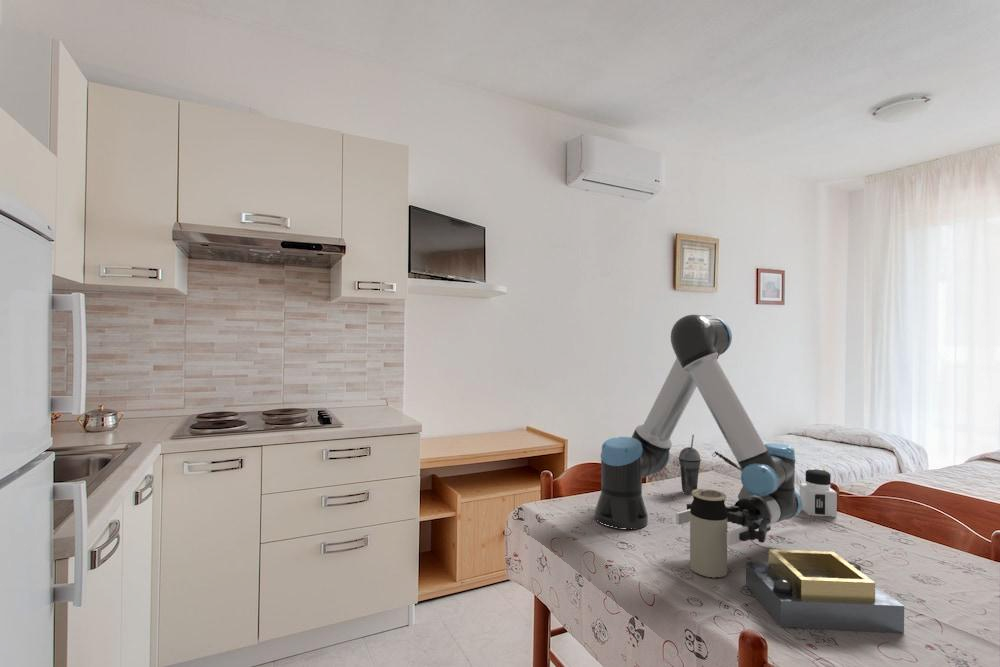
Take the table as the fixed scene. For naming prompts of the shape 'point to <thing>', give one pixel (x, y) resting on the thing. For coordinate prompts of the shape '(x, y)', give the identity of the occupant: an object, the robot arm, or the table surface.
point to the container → (818, 494)
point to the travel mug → (708, 533)
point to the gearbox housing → (822, 593)
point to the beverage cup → (689, 468)
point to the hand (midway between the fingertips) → (701, 528)
